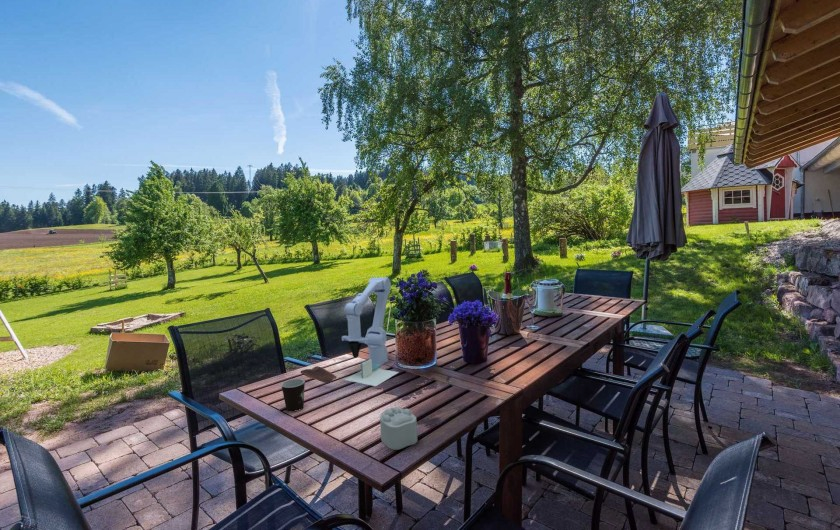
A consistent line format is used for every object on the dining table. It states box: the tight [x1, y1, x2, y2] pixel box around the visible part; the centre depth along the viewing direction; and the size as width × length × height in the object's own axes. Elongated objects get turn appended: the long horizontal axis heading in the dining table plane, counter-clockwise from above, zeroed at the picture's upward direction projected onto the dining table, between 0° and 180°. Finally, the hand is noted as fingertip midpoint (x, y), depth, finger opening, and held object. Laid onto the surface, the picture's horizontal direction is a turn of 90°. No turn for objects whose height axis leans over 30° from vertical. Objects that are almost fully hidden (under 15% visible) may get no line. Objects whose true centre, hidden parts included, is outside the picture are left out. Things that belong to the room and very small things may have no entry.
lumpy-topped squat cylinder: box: [379, 406, 418, 451], centre depth 125 cm, size 10×13×9 cm
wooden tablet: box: [300, 365, 337, 384], centre depth 183 cm, size 26×2×10 cm
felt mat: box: [343, 368, 399, 387], centre depth 179 cm, size 18×18×1 cm
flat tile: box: [372, 364, 382, 373], centre depth 187 cm, size 6×7×2 cm
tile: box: [360, 358, 372, 379], centre depth 179 cm, size 6×2×7 cm, turn 150°
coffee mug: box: [281, 378, 306, 412], centre depth 151 cm, size 12×9×10 cm
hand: (355, 356), depth 181 cm, fingers closed
